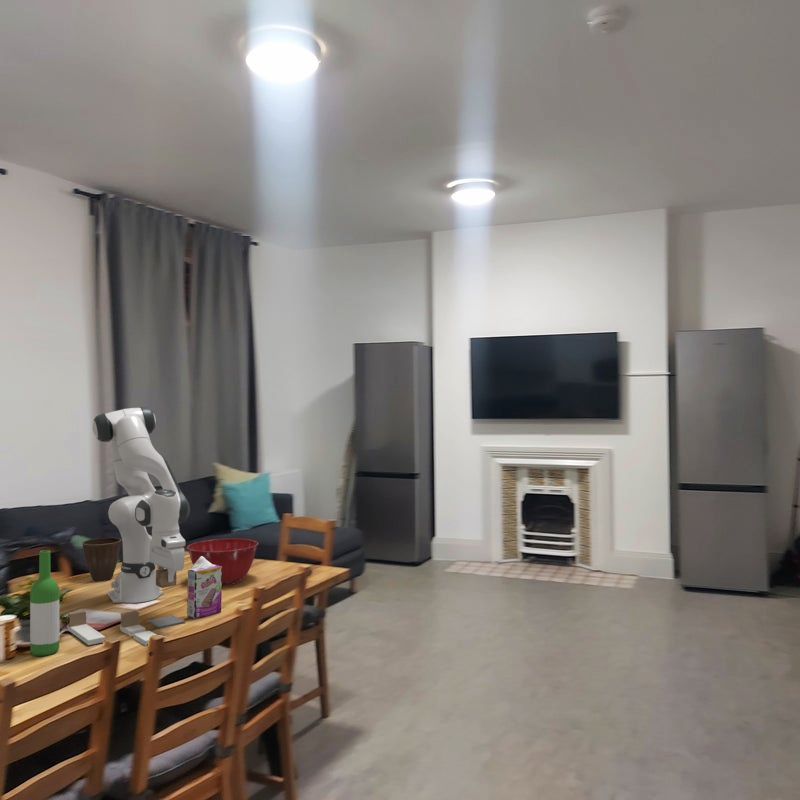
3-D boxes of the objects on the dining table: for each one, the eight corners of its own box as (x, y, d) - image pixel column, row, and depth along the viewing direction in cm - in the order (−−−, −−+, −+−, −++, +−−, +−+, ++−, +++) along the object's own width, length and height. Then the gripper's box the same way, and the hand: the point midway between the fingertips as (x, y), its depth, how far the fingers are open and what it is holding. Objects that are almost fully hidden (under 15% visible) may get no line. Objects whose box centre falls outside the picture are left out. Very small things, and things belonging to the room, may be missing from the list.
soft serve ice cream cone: (196, 595, 279) (196, 553, 279) (217, 595, 279) (217, 553, 279) (187, 601, 271) (187, 557, 271) (209, 601, 270) (209, 558, 270)
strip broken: (120, 630, 237) (120, 613, 237) (135, 627, 240) (135, 610, 240) (145, 645, 222) (145, 627, 222) (161, 642, 225) (161, 624, 225)
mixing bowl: (175, 580, 302) (175, 543, 302) (237, 570, 320) (237, 535, 320) (206, 594, 280) (206, 554, 280) (271, 582, 299) (271, 544, 299)
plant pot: (94, 585, 294) (94, 546, 294) (75, 580, 303) (75, 541, 303) (128, 578, 306) (128, 540, 306) (108, 573, 315) (108, 536, 315)
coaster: (147, 622, 245) (147, 620, 245) (173, 617, 251) (173, 615, 251) (158, 628, 238) (158, 626, 238) (184, 623, 244) (184, 621, 244)
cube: (155, 585, 245) (155, 570, 245) (170, 582, 248) (169, 567, 248) (162, 588, 241) (161, 572, 241) (176, 585, 244) (176, 570, 244)
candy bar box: (195, 619, 248) (195, 571, 248) (186, 617, 251) (186, 569, 251) (222, 612, 257) (222, 565, 257) (213, 609, 260) (213, 563, 260)
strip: (67, 629, 236) (67, 612, 236) (83, 626, 239) (83, 609, 239) (88, 645, 221) (88, 627, 221) (105, 641, 224) (105, 623, 224)
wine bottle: (30, 650, 218) (30, 549, 218) (59, 646, 221) (59, 547, 221) (29, 658, 211) (29, 554, 211) (59, 654, 214) (59, 552, 214)
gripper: (144, 535, 250) (144, 576, 250) (169, 544, 235) (169, 587, 235) (162, 533, 254) (162, 573, 254) (187, 541, 239) (188, 583, 239)
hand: (166, 580), depth 244 cm, fingers closed on cube, 5 cm apart
